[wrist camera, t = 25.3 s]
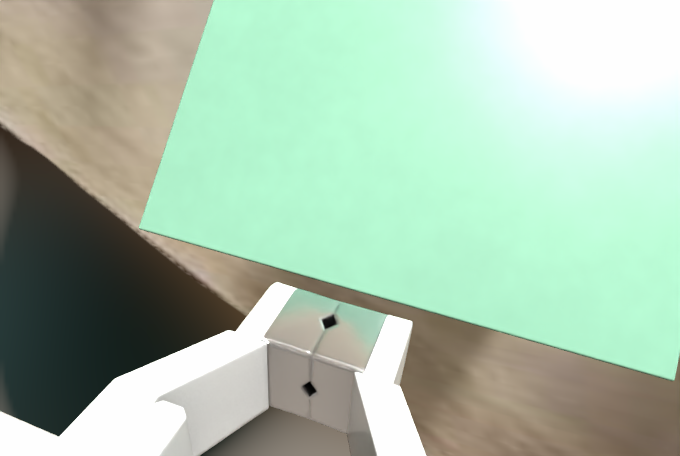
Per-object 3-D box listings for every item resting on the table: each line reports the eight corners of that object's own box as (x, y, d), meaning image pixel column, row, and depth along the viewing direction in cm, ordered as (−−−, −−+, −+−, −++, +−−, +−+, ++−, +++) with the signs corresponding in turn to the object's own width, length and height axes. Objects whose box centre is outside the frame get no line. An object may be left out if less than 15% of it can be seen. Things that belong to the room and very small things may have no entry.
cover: (660, 377, 11) (675, 382, 10) (152, 232, 14) (137, 228, 13) (766, -154, 12) (785, -181, 11) (283, -167, 15) (275, -189, 15)
